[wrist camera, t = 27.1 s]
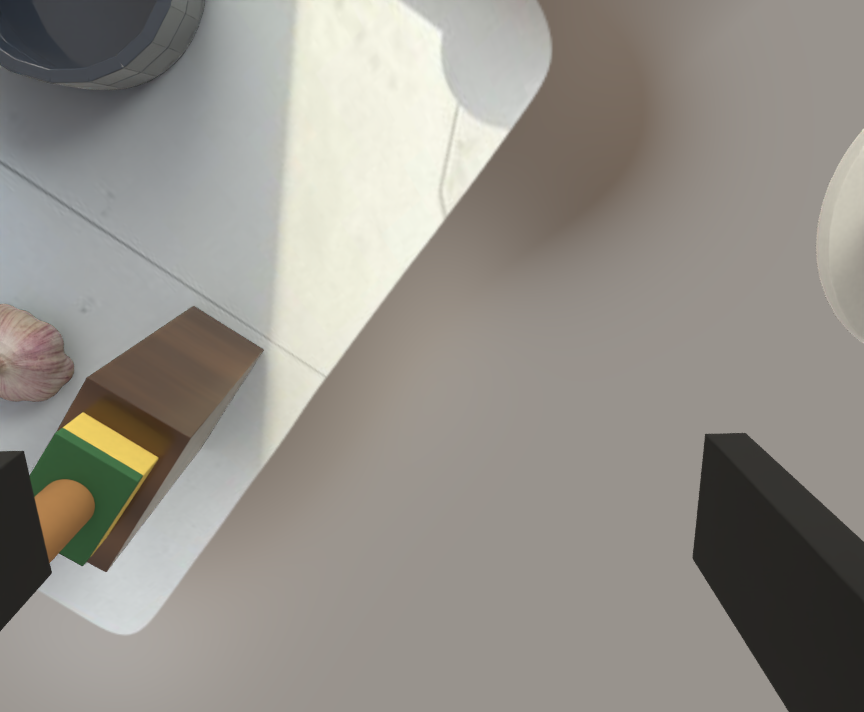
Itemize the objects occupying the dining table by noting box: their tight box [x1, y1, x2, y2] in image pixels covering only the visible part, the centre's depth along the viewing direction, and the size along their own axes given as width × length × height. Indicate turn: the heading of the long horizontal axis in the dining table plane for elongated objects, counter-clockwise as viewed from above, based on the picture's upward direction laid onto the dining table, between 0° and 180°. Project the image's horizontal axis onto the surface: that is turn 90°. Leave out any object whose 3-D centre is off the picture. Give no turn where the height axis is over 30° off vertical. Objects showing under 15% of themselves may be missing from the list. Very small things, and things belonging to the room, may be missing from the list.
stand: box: [57, 306, 264, 572], centre depth 44 cm, size 10×6×16 cm, turn 145°
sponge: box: [30, 412, 158, 566], centre depth 31 cm, size 6×4×11 cm
